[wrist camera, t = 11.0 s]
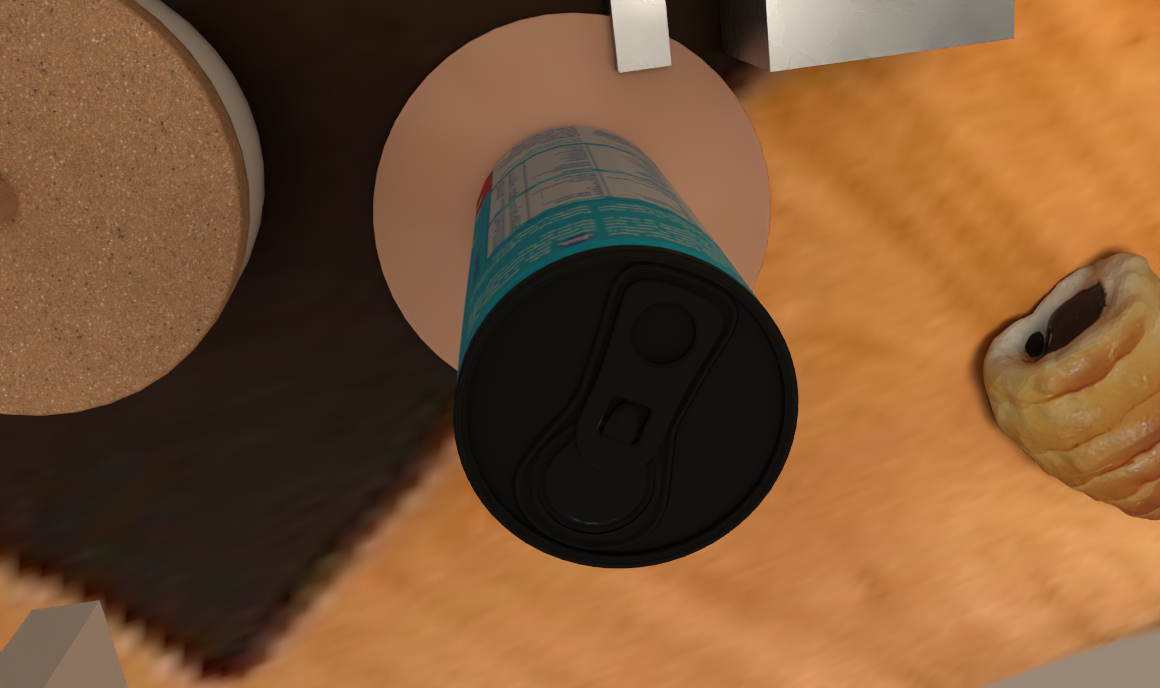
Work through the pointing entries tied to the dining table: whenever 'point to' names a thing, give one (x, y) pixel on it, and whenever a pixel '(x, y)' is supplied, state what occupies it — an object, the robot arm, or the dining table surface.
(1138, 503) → the pastry
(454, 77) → the coaster
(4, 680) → the robot arm
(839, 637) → the dining table surface
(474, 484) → the beverage can
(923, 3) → the dumbbell
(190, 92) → the lidded jar
